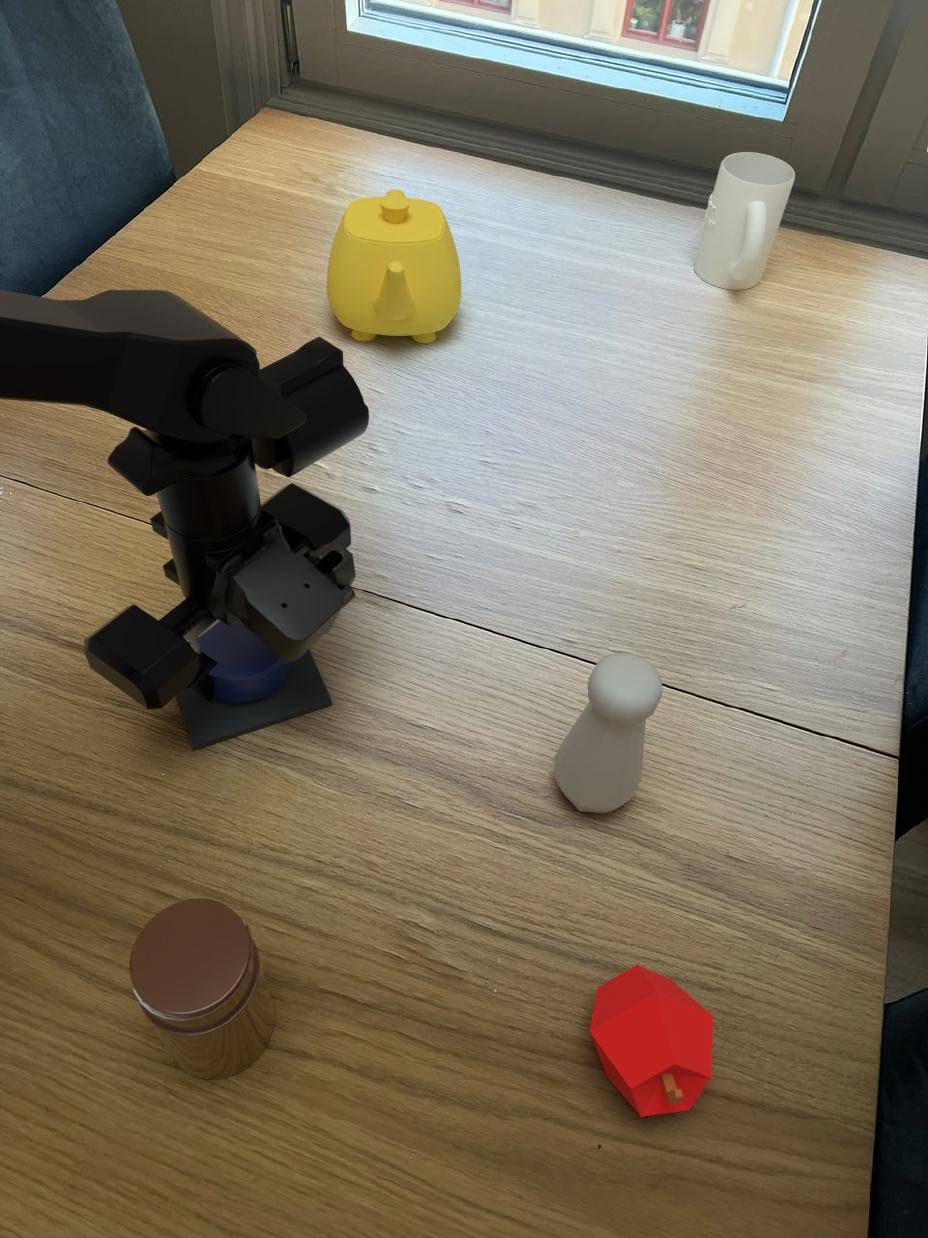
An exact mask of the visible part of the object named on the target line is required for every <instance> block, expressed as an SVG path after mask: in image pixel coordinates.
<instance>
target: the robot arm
mask: <svg viewBox="0 0 928 1238" xmlns="http://www.w3.org/2000/svg"><path fill="white" fill-rule="evenodd" d="M257 355H258V352H257V349H256V348H255V347H253V346H252V345H251V344H250V343H249V342H248V341H246V340H244V338H241V337H240V336H239V335H237V334H235V332H232V331H231V330H230V329H228V328H227V327H225V326H224V325H222V324H221V323H219V322H218V321H216V320H215V319H214V318H212V317H211V316H209V315H207V314H206V313H205V312H203V311H202V310H200V309H199V308H197V307H195V306H194V305H193V304H191V303H190V302H188V301H187V300H185V299H184V298H183V297H181V296H180V295H178V294H175V293H174V292H172V291H168V290H163V289H107V290H105V291H102V292H100V293H97V294H94V295H93V296H90V297H87V298H85V299H56V298H49V297H45V296H44V297H43V296H38V295H33V294H28V293H27V294H26V293H21V292H15V291H11V290H10V291H9V290H4V289H0V400H5V401H17V402H33V403H43V404H57V405H70V406H71V405H72V406H83V407H87V408H90V409H93V410H98V411H101V412H104V413H107V414H110V415H111V416H114V417H117V418H119V419H121V420H124V421H126V422H128V423H131V424H133V425H136V426H132V427H131V428H130V429H129V431H128V434H127V436H126V437H125V439H124V440H123V441H121V442H120V443H119V444H116V446H115V447H114V448H113V449H112V451H111V453H110V454H109V456H108V457H107V465H108V466H109V467H110V468H111V469H112V470H114V471H115V472H116V473H117V474H118V475H120V476H121V477H122V478H123V479H124V480H125V481H127V482H128V483H129V484H130V485H132V487H134V488H135V489H136V490H137V491H139V493H141V495H143V496H145V497H152V496H153V495H156V496H157V500H158V504H159V508H160V511H159V512H157V513H156V514H155V515H153V516H151V517H150V518H149V521H150V524H151V527H152V531H153V532H154V533H155V534H158V535H159V536H161V537H162V538H164V539H165V540H167V541H168V544H169V547H170V552H171V556H172V558H171V559H170V560H168V561H167V562H166V563H165V564H163V565H162V568H163V573H164V575H165V578H166V579H168V580H170V581H171V582H173V583H174V584H176V585H177V586H179V588H180V591H181V593H182V595H183V597H184V598H185V599H183V600H182V601H180V603H178V604H177V605H176V606H175V607H174V608H172V609H171V610H170V611H169V612H167V613H165V615H164V616H162V617H161V618H159V619H157V618H156V617H154V616H153V615H151V614H150V613H148V612H147V611H145V610H144V609H142V608H141V607H139V606H138V605H136V604H135V603H133V604H130V605H127V606H126V607H124V609H122V610H120V611H119V612H118V613H117V614H115V615H114V616H113V617H111V618H110V619H109V620H108V621H106V622H105V623H104V624H103V625H101V626H100V627H98V628H97V629H95V630H94V631H93V632H92V633H91V634H89V635H88V636H86V637H85V638H84V640H83V653H84V655H85V658H86V661H87V663H88V665H89V668H90V669H91V670H92V671H94V672H95V673H96V674H98V675H100V676H101V677H102V678H104V680H107V681H108V682H109V683H111V684H112V685H113V686H115V688H117V689H119V690H120V691H121V692H123V693H124V694H126V695H127V696H128V697H130V698H131V699H133V700H134V701H135V702H136V703H138V704H139V705H141V706H142V707H144V708H145V709H146V710H147V711H148V710H149V711H150V710H159V709H163V708H164V707H165V706H167V705H168V704H169V703H170V702H171V701H172V700H173V699H176V696H177V695H178V694H179V693H180V692H181V691H183V690H187V689H189V688H192V689H194V690H195V691H196V692H197V693H198V694H199V695H200V696H202V697H203V698H205V699H206V700H208V701H211V700H212V699H213V698H214V691H213V685H212V681H211V677H210V674H209V671H211V670H212V669H213V668H214V667H215V666H216V665H217V664H218V662H216V661H215V660H213V659H212V658H210V657H209V656H207V655H206V654H204V653H203V652H201V651H200V642H199V638H200V637H202V636H203V635H204V634H205V633H206V632H208V631H209V630H210V629H211V628H212V627H214V626H215V625H216V624H217V623H218V622H220V621H222V622H223V623H225V624H226V625H228V626H229V625H231V624H232V623H233V622H234V621H235V620H237V619H238V618H239V619H240V621H241V622H242V623H243V624H244V625H245V626H246V627H247V628H248V629H249V630H250V631H251V632H252V633H253V634H254V635H255V636H257V637H258V638H259V639H260V640H261V641H262V642H263V643H264V644H265V645H266V646H268V647H269V648H270V649H271V651H272V653H273V654H274V655H275V656H277V657H278V658H279V659H281V660H283V661H287V662H291V661H295V660H297V659H299V658H300V657H301V656H302V655H303V654H304V653H305V652H306V651H307V650H308V649H309V650H310V648H311V647H313V645H315V644H316V643H317V642H318V641H319V640H320V639H321V638H322V637H324V635H326V634H327V633H329V631H330V630H331V629H332V628H333V626H334V624H335V622H336V620H337V618H338V617H339V614H340V612H341V611H342V610H343V609H344V608H345V607H347V605H348V604H349V603H350V602H352V601H353V600H354V599H355V598H356V592H355V590H354V588H353V586H352V584H353V583H354V581H355V579H356V577H357V575H356V568H355V567H356V566H355V562H354V555H353V553H352V552H351V551H349V549H348V548H349V547H350V546H351V545H352V530H351V528H352V527H351V521H350V519H349V517H348V516H347V514H346V512H345V511H344V510H343V509H341V508H340V507H338V506H336V505H335V504H333V503H331V502H329V501H327V500H325V499H324V498H322V497H320V496H318V495H317V494H315V493H313V492H312V491H310V490H308V489H306V488H304V487H303V486H301V485H298V484H296V483H294V482H290V483H289V484H287V485H284V486H282V487H281V488H280V489H279V490H278V491H276V492H275V493H273V494H272V495H270V496H269V497H268V498H267V499H266V500H264V501H263V502H261V496H260V489H259V482H258V476H257V468H256V466H257V467H259V468H261V469H264V470H271V469H272V470H273V471H274V472H276V473H278V474H280V475H282V476H285V477H286V478H291V477H293V476H295V475H297V474H298V473H300V472H302V471H303V470H305V469H307V468H308V467H310V466H312V465H313V464H315V463H316V462H318V461H320V460H322V459H323V458H325V457H326V456H328V455H330V454H332V453H333V452H335V451H337V450H339V449H340V448H342V447H344V446H346V445H347V444H348V443H351V442H352V441H354V440H355V439H358V438H359V437H361V436H362V435H363V434H364V433H365V432H366V431H367V429H368V427H369V423H370V422H369V421H370V410H369V406H368V405H367V404H366V403H365V400H364V397H363V394H362V392H361V390H360V387H359V386H358V384H357V382H356V380H355V379H354V377H353V376H352V374H351V373H350V371H349V370H348V369H347V367H346V366H345V364H344V351H343V350H342V349H340V348H339V347H337V346H336V345H334V344H332V343H331V342H329V341H328V340H327V339H325V338H323V337H322V336H317V337H315V338H313V339H311V340H309V341H307V342H305V343H304V344H303V345H301V346H300V347H299V348H298V349H296V350H295V351H293V352H292V353H289V354H288V355H286V356H283V357H282V358H280V359H278V360H276V361H274V362H271V363H270V364H268V365H266V366H264V367H262V368H261V363H260V361H259V358H258V356H257ZM137 426H138V427H137Z"/></svg>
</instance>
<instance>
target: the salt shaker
mask: <svg viewBox="0 0 928 1238" xmlns="http://www.w3.org/2000/svg"><path fill="white" fill-rule="evenodd" d="M662 697H663V682H662V676H661V674H660V673H659V672H658V670H657V668H656V667H655V666H654V664H652V663H651V662H649V661H648V660H647V659H645V658H644V657H642V656H640V655H636V654H633V653H629V652H616V653H610V654H608V655H606V656H604V657H602V658H601V659H599V660H598V661H597V663H596V664H595V666H594V667H593V669H592V671H591V673H590V675H589V677H588V681H587V698H588V703H587V704H586V706H585V707H584V709H583V710H582V712H581V714H579V716H578V718H577V719H576V721H575V722H574V724H573V725H572V727H571V728H570V730H569V731H568V733H567V734H566V736H565V738H564V739H563V741H561V744H560V746H559V747H558V750H557V751H556V753H555V755H554V759H553V760H554V764H553V765H554V767H553V769H554V770H553V771H554V774H553V775H554V780H555V781H556V784H557V786H558V788H560V791H561V792H562V794H563V795H564V796H565V798H566V799H568V801H569V802H570V803H571V804H572V805H573V806H574V807H575V809H577V811H578V812H582V813H584V812H585V813H597V814H599V813H600V814H607V813H610V812H613V811H614V810H617V809H618V808H620V807H621V806H623V805H624V804H625V803H627V802H630V801H631V800H632V798H633V797H634V795H635V793H636V791H637V789H638V787H639V785H640V783H641V781H642V773H643V772H642V771H643V760H644V759H643V758H644V747H645V732H646V720H647V719H649V718H650V717H652V716H653V715H654V713H655V711H656V710H657V707H658V705H659V704H660V702H661V700H662Z"/></svg>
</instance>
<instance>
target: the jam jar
mask: <svg viewBox="0 0 928 1238" xmlns="http://www.w3.org/2000/svg"><path fill="white" fill-rule="evenodd" d="M129 975H130V980H131V983H132V986H133V989H132V992H133V994H134V996H135V997H136V999H137V1001H138V1005H139V1007H140V1008H141V1010H142V1011H141V1012H143V1014H144V1016H145V1017H146V1019H147V1020H148V1022H149V1023H150V1025H151V1027H152V1028H153V1030H154V1032H155V1033H156V1034H157V1037H158V1038H159V1039H160V1041H161V1043H162V1044H163V1046H164V1048H165V1049H166V1051H167V1052H168V1054H169V1056H170V1057H171V1058H172V1060H173V1061H174V1063H175V1064H176V1065H177V1066H178V1067H179V1069H181V1070H182V1071H184V1072H185V1073H186V1074H188V1075H190V1076H192V1077H195V1078H198V1079H202V1080H221V1079H227V1078H229V1077H232V1076H235V1075H237V1074H239V1073H241V1072H242V1071H244V1070H246V1069H247V1068H249V1067H250V1066H251V1065H252V1064H253V1063H254V1062H255V1061H256V1060H257V1059H258V1058H259V1057H260V1056H261V1054H262V1053H263V1052H264V1051H265V1049H266V1047H267V1045H268V1044H269V1041H270V1039H271V1037H272V1033H273V1030H274V1024H275V1006H274V1002H273V998H272V995H271V991H270V988H269V985H268V981H267V977H266V974H265V970H264V967H263V964H262V961H261V957H260V954H259V949H258V947H257V945H256V942H255V939H253V936H252V934H251V930H250V927H249V924H245V922H244V921H243V919H242V918H241V917H240V915H239V914H238V913H237V912H236V911H235V910H234V909H233V908H231V907H230V906H228V905H226V904H225V903H223V902H220V901H218V900H215V899H209V898H199V897H198V898H190V899H184V900H180V901H176V902H174V903H172V904H170V905H168V906H166V907H164V908H162V910H160V911H158V912H157V913H156V914H155V915H153V917H151V918H150V919H149V920H148V921H147V923H145V924H144V926H143V927H142V929H141V930H140V931H139V933H138V935H137V937H136V939H135V941H134V943H133V946H132V949H131V953H130V957H129Z"/></svg>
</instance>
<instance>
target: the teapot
mask: <svg viewBox="0 0 928 1238" xmlns="http://www.w3.org/2000/svg"><path fill="white" fill-rule="evenodd" d="M327 263H328V264H327V272H326V293H327V294H326V295H327V300H328V304H329V307H330V309H331V311H332V312H333V314H334V316H335V317H336V318H337V320H338V321H339V322H340V323H341V324H342V325H343V326H345V327H346V328H349V329H351V334H350V335H351V337H352V338H353V339H354V340H356V341H358V342H370V341H373V340H374V339H376V337H377V335H378V336H379V335H381V336H391V337H406V336H411V338H412V340H413V341H415V342H417V343H419V344H431V343H432V342H433V343H434V341H436V339H437V335H436V332H440V331H442V330H443V329H445V328H446V327H447V326H448V325H449V324H450V323H451V322H452V320H453V318H454V317H455V316H456V314H457V312H458V310H459V306H460V303H461V297H462V275H461V267H460V260H459V255H458V250H457V248H456V243H455V241H454V237H453V234H452V231H451V228H450V226H449V224H448V220H447V218H446V215H445V213H444V211H443V209H442V208H441V206H439V205H438V203H435V202H432V201H429V200H426V199H420V198H414V197H407V196H405V193H404V191H402V190H400V189H389V190H388V191H386V194H385V195H383V196H369V197H361V198H357V199H354V200H352V201H350V203H348V205H347V206H346V208H345V211H344V212H343V215H342V217H341V220H340V223H339V224H338V227H337V230H336V232H335V235H334V238H333V242H332V244H331V248H330V252H329V257H328V262H327Z"/></svg>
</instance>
